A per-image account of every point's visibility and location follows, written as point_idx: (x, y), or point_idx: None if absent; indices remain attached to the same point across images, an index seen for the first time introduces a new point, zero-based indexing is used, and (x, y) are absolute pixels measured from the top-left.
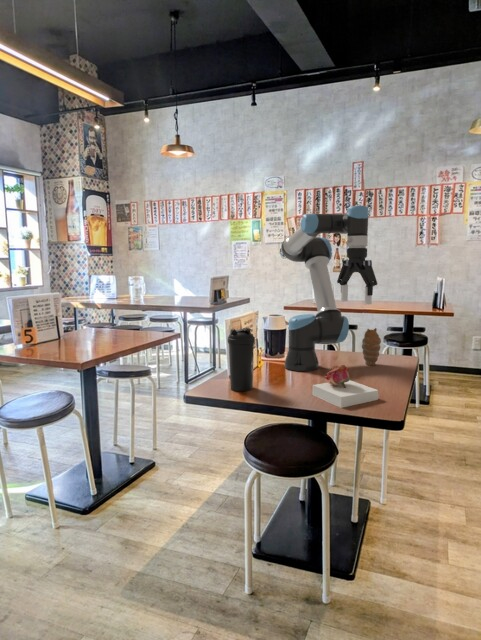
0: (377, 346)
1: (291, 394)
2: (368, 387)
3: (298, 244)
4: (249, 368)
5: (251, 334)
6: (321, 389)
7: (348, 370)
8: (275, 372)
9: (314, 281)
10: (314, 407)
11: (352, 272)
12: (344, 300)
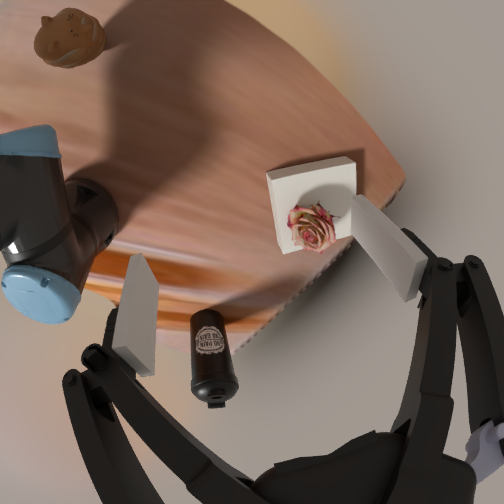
0: (96, 25)
1: (258, 269)
2: (335, 169)
3: None
4: (225, 341)
5: (225, 387)
6: None
7: (319, 211)
8: (112, 266)
9: None
10: (325, 254)
11: (219, 464)
12: (152, 277)
